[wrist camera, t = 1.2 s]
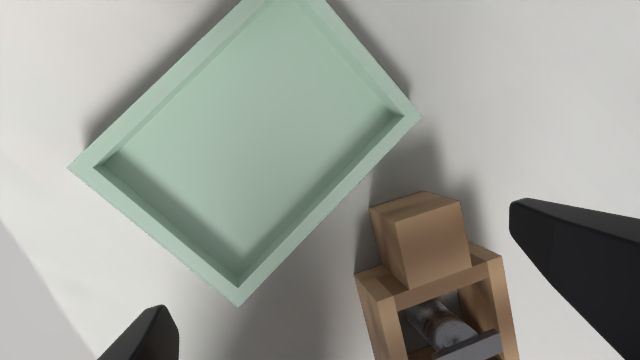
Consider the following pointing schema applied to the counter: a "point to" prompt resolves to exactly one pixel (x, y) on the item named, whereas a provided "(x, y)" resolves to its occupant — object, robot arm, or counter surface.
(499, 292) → the wooden frame stand
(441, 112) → the counter surface
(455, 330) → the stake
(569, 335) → the counter surface
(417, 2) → the counter surface
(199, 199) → the tray
